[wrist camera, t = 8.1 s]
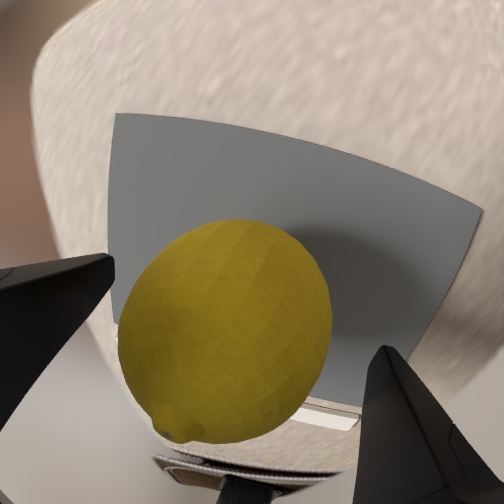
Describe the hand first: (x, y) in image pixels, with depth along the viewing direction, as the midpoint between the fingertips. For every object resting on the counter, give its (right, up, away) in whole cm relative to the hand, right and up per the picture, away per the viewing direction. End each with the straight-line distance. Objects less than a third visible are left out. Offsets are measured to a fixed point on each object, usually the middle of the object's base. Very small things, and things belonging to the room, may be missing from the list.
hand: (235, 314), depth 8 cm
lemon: (+1, +1, +3) cm, 4 cm away
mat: (+1, +1, +4) cm, 4 cm away
